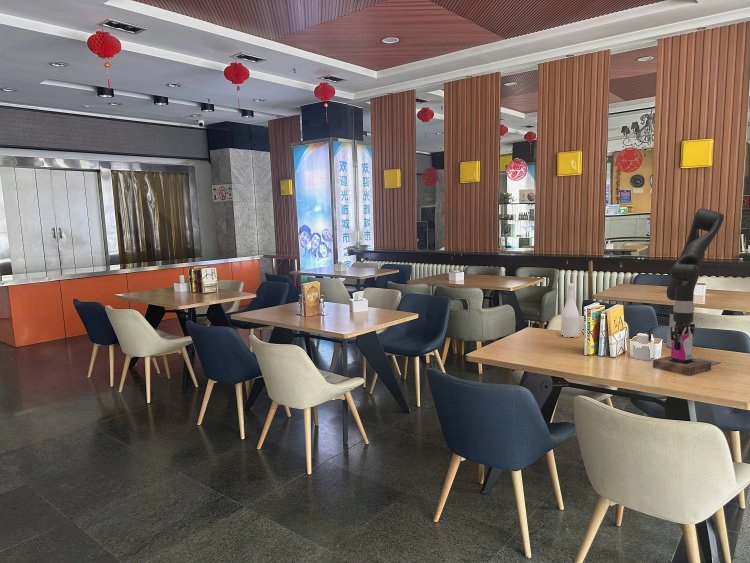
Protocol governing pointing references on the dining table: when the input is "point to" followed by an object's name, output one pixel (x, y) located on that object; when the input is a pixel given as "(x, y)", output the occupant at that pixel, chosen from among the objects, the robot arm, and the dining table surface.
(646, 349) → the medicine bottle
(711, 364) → the mat
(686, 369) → the frame
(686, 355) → the supplement box
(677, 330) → the robot arm
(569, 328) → the wine bottle
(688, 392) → the dining table surface
